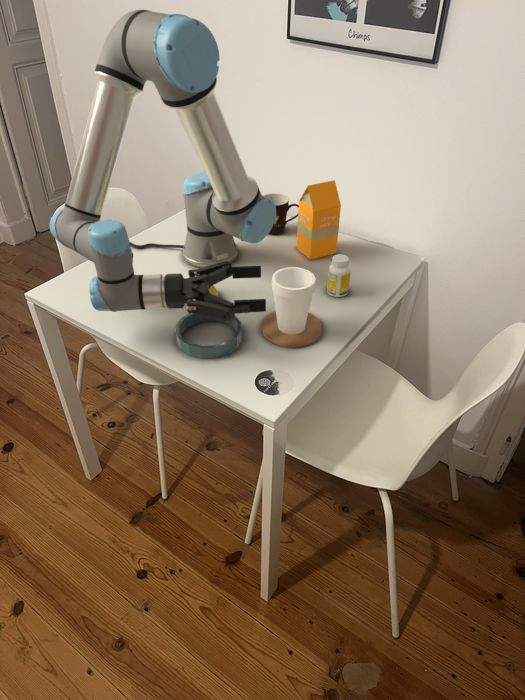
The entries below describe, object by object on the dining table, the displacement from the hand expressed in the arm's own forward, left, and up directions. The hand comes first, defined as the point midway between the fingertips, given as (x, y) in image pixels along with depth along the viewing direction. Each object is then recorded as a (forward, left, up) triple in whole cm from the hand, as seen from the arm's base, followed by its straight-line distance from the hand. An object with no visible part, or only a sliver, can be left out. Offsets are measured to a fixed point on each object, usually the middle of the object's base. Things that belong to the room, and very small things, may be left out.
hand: (263, 287), depth 115 cm
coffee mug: (-29, +41, -12) cm, 51 cm away
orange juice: (-13, +39, -12) cm, 42 cm away
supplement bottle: (+4, +25, -12) cm, 27 cm away
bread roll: (-20, 0, -12) cm, 23 cm away
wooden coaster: (+5, +5, -12) cm, 13 cm away
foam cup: (+5, +4, -11) cm, 13 cm away
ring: (-7, -10, -12) cm, 17 cm away
